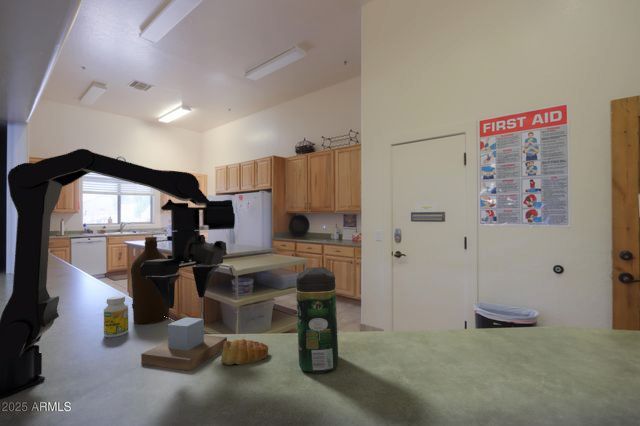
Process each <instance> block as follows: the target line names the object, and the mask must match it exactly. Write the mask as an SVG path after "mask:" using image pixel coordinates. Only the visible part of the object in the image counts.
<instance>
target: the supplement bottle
mask: <svg viewBox="0 0 640 426" xmlns="http://www.w3.org/2000/svg"><path fill="white" fill-rule="evenodd" d="M125 301H126V297H125V295H117V296H116V295H115V296H111V297H107V298H106V304H107V306H105V307H104V308H103V335H104V337H105V338H116V337H120V336H121V337H122V336H124V335H126V334H127V333H128V332H129V305H128V304H127V303H125Z"/></svg>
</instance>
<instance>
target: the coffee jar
mask: <svg viewBox="0 0 640 426" xmlns="http://www.w3.org/2000/svg"><path fill="white" fill-rule="evenodd" d="M295 281H296V282H295V283H296V287H295V288H296V291H295V292H296V293H295V294H296V296H295V297H296V315H297V316H296V322H297V323H296V324H297V326H296V327H297V346H298V353H297V354H298V364H299V365H298V366H299V367H300V369H301V370H302V371H306V372H309V373H313V374H323V373H326V372H330V371H333V370H336V368H337V367H338V364H339V345H338V344H339V343H338V341H339V340H338V338H339V337H338V319H337V291H336V290H337V289H336V276H335V273H333V272H332V270H329V269H327V268H326V267H323V266H319V267H318V266H317V267H306V268H305V269H304V270H302V271H301V272H299V273H298V274H297V276H296V280H295Z"/></svg>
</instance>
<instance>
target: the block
mask: <svg viewBox="0 0 640 426" xmlns="http://www.w3.org/2000/svg"><path fill="white" fill-rule="evenodd" d="M204 323H205V322H204V318H198V317H197V318H195V317H186V316H185V317H183V318H181V319H178V320H175V321H173V322H171V323H168V324H167V341H168V349H177V350H185V351H188V350H190V349H192V348H194V347H195V346H197V345H199V344H201V343H202V342H204V335H205V331H204V330H205V329H204V328H205V327H204V325H205V324H204Z"/></svg>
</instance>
